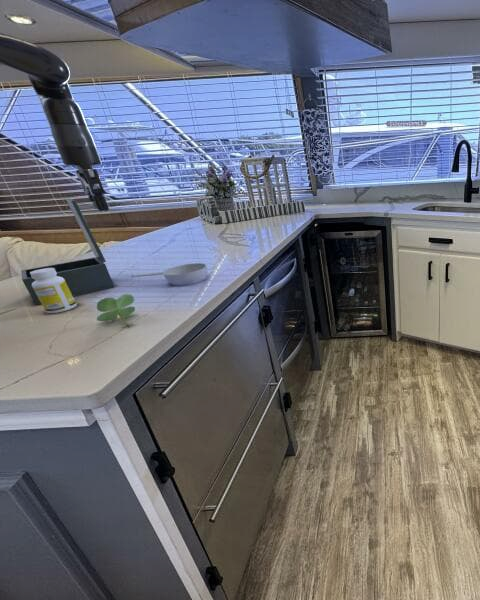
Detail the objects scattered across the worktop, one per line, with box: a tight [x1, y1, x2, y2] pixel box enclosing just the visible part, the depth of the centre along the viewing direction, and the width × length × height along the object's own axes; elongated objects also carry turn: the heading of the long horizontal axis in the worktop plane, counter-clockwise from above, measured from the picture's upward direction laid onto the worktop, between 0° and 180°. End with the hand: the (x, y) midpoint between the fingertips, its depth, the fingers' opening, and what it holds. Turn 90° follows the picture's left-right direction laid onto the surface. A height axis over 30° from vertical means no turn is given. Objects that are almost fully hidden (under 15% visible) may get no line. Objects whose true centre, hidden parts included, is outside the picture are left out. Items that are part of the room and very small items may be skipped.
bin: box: [20, 256, 115, 306], centre depth 88 cm, size 16×13×7 cm
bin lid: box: [65, 198, 107, 263], centre depth 90 cm, size 16×13×6 cm
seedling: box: [96, 293, 136, 327], centre depth 68 cm, size 7×8×6 cm
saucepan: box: [131, 262, 208, 286], centre depth 91 cm, size 11×18×4 cm, turn 114°
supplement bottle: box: [30, 268, 77, 314], centre depth 75 cm, size 5×5×10 cm
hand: (101, 209), depth 89 cm, fingers open, 8 cm apart
